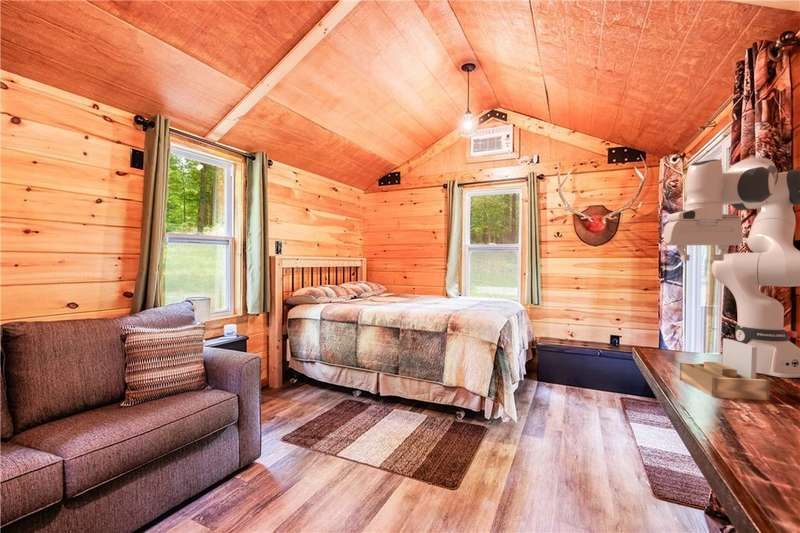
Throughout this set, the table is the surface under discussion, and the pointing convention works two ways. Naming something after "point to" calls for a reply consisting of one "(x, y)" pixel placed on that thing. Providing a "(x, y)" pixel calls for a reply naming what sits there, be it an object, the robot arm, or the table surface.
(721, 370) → the offcut top
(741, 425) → the table surface
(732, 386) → the rack
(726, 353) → the sheet
